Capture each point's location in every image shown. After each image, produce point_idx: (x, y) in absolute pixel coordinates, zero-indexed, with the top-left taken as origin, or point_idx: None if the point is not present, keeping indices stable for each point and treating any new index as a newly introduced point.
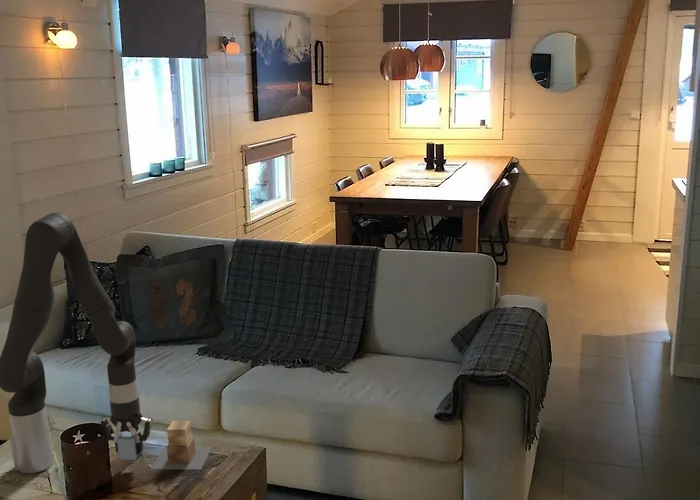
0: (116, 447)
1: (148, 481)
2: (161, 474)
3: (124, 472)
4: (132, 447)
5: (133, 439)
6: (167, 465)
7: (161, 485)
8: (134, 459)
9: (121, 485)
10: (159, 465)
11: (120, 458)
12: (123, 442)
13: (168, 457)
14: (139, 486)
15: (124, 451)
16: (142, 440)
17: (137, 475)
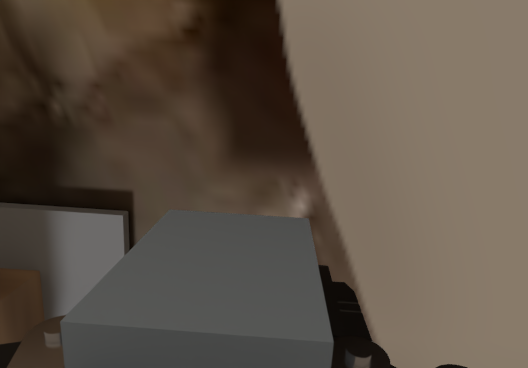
0: (350, 312)
1: (105, 103)
2: (56, 177)
3: (287, 211)
4: (140, 258)
5: (61, 324)
6: (35, 248)
7: (5, 52)
8: (177, 211)
9: (261, 64)
10: (83, 250)
11: (295, 221)
12: (234, 301)
13: (7, 291)
14: (140, 46)
15: (247, 244)
16: (11, 348)
17: (197, 174)
